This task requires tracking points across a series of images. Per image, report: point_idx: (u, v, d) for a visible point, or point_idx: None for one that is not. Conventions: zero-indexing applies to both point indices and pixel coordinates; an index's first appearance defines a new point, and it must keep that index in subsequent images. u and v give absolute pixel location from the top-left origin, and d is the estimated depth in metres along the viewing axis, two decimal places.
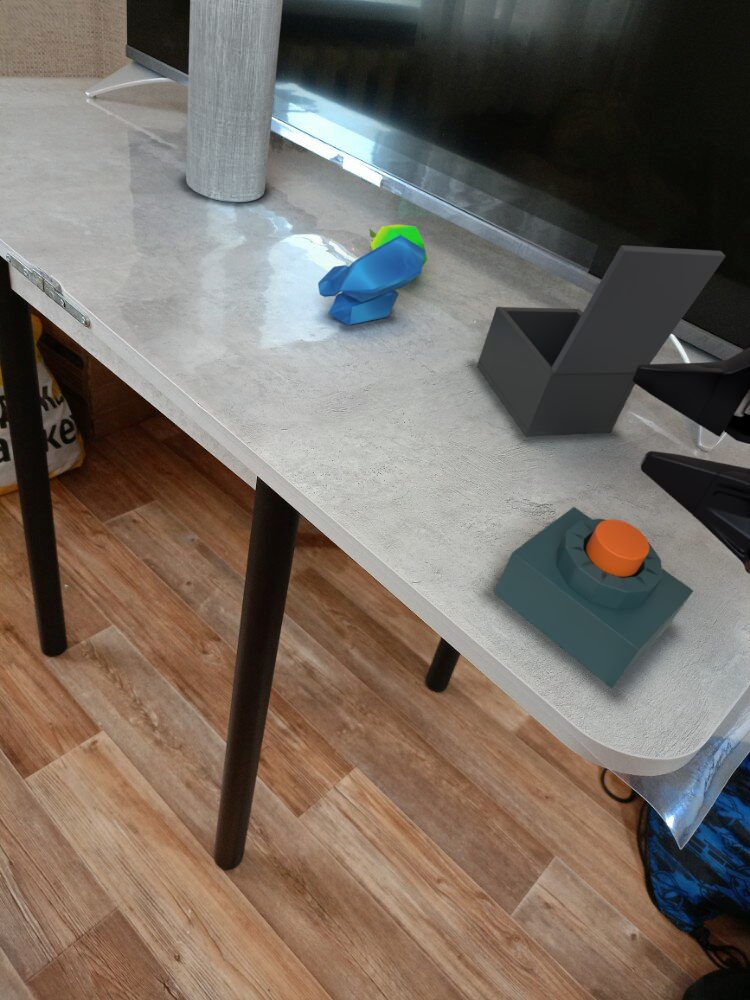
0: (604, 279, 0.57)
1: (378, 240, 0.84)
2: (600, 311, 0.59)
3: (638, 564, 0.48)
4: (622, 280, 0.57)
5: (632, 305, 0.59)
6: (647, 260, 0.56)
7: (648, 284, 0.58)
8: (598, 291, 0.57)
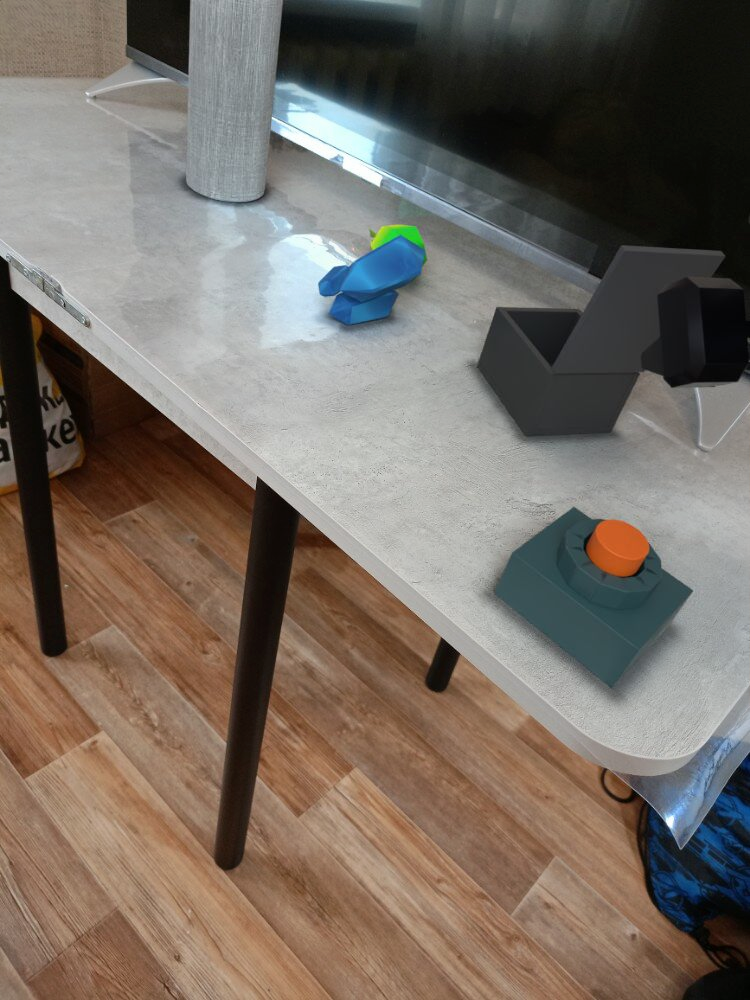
0: (604, 279, 0.57)
1: (378, 240, 0.84)
2: (600, 311, 0.59)
3: (638, 564, 0.48)
4: (622, 280, 0.57)
5: (632, 305, 0.59)
6: (647, 260, 0.56)
7: (648, 284, 0.58)
8: (598, 291, 0.57)
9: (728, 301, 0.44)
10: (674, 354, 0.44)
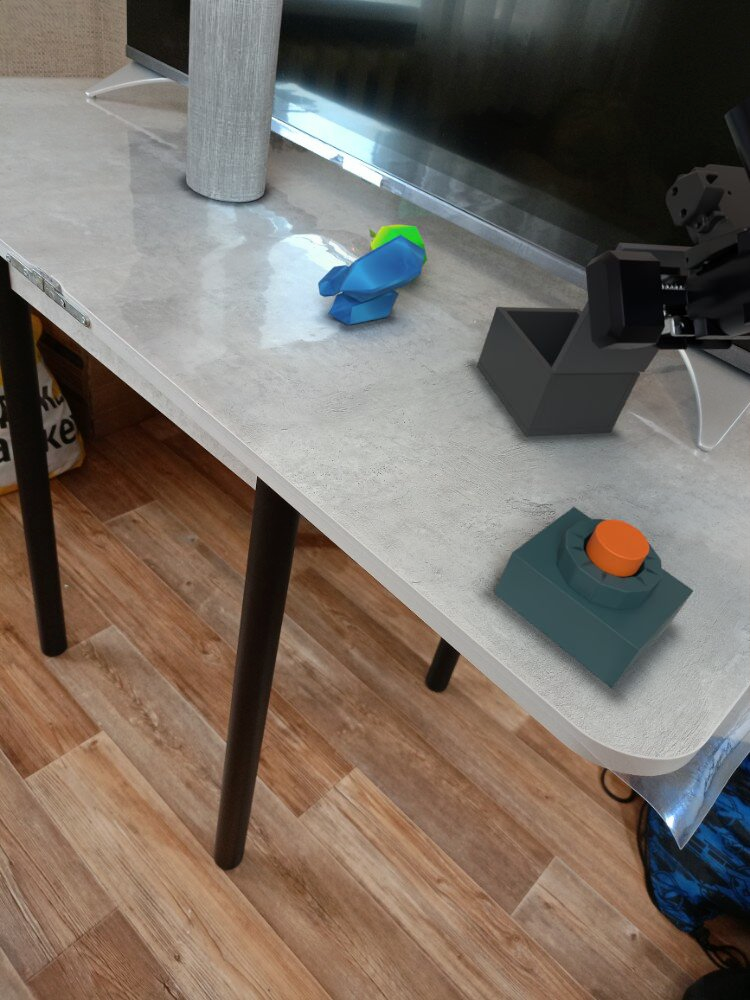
0: None
1: (378, 240, 0.84)
2: None
3: (638, 564, 0.48)
4: None
5: None
6: None
7: None
8: None
9: (646, 271, 0.50)
10: (599, 318, 0.50)
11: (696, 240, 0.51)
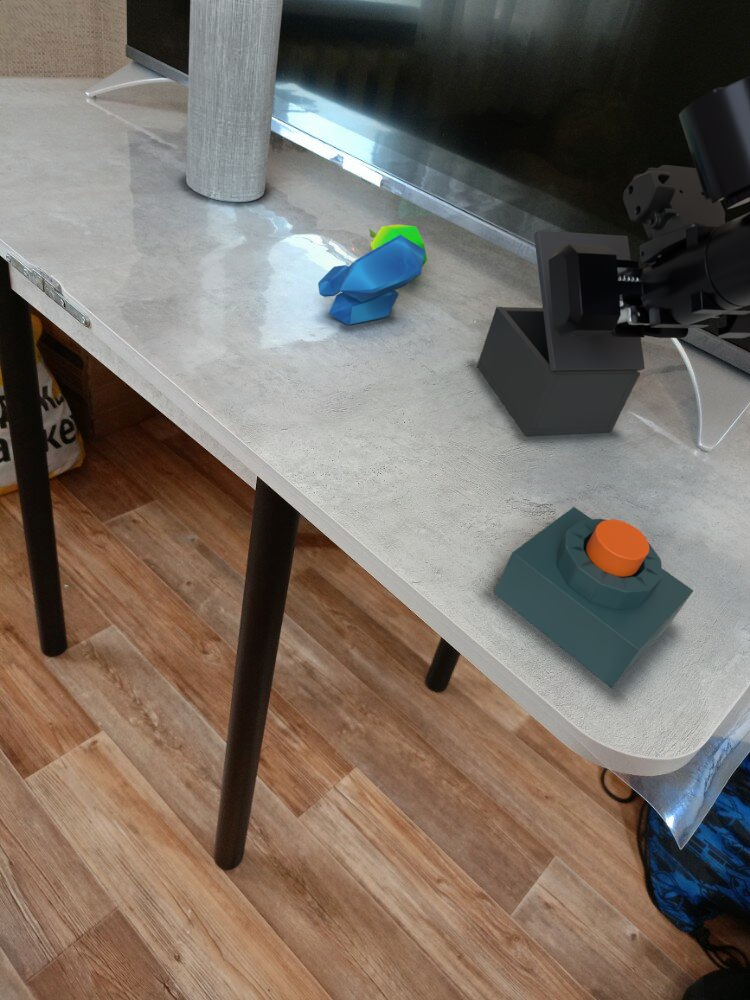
0: (539, 263, 0.65)
1: (378, 240, 0.84)
2: None
3: (638, 564, 0.48)
4: None
5: None
6: (563, 239, 0.65)
7: None
8: (541, 275, 0.64)
9: (603, 264, 0.54)
10: (560, 307, 0.54)
11: (651, 235, 0.55)
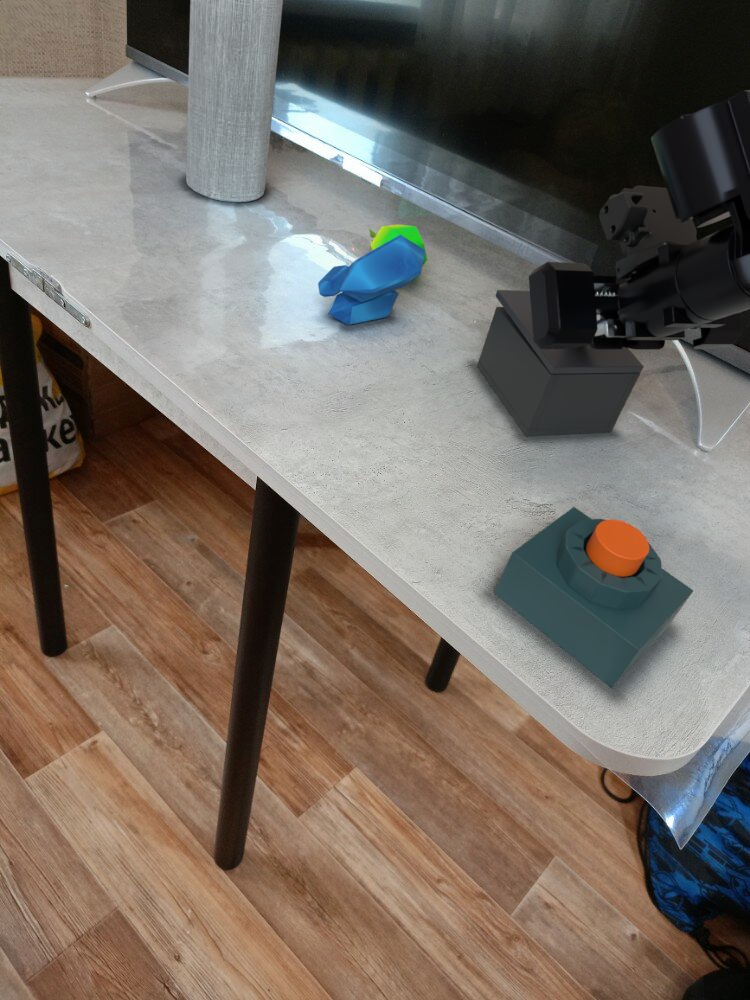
0: (507, 309, 0.70)
1: (378, 240, 0.84)
2: (530, 322, 0.68)
3: (638, 564, 0.48)
4: (520, 304, 0.70)
5: None
6: (522, 294, 0.72)
7: None
8: (512, 315, 0.69)
9: (580, 280, 0.56)
10: (540, 322, 0.57)
11: (626, 252, 0.58)
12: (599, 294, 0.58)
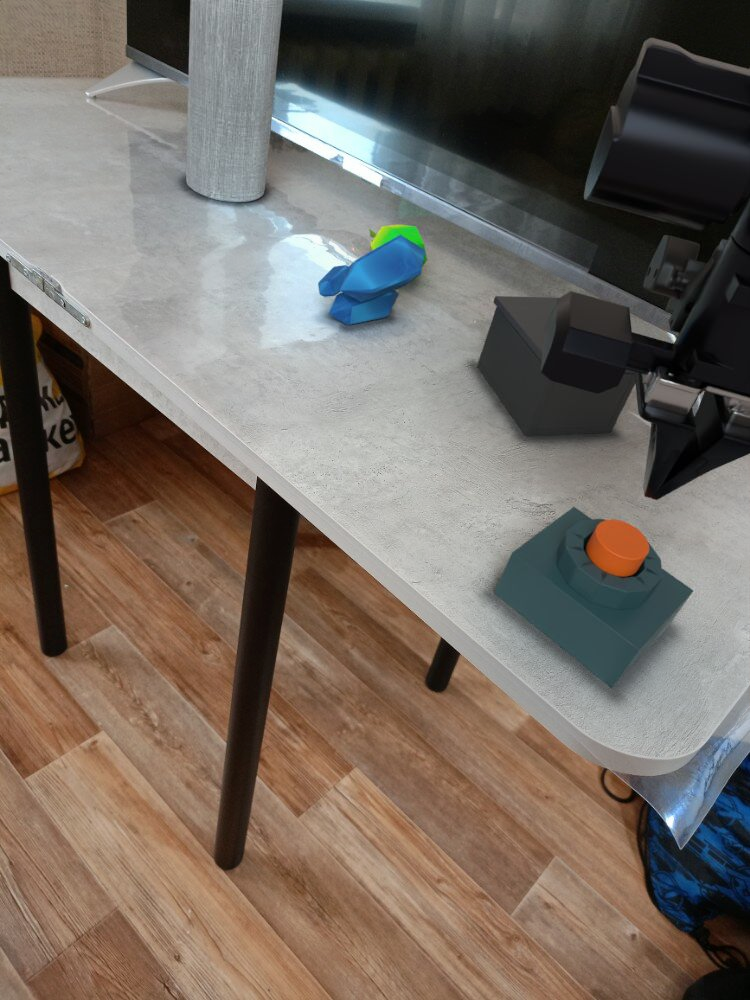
0: (506, 314, 0.70)
1: (378, 240, 0.84)
2: (529, 326, 0.68)
3: (638, 564, 0.48)
4: (518, 309, 0.71)
5: None
6: (520, 300, 0.72)
7: (543, 311, 0.71)
8: (511, 319, 0.69)
9: (607, 307, 0.41)
10: (548, 344, 0.40)
11: None
12: None
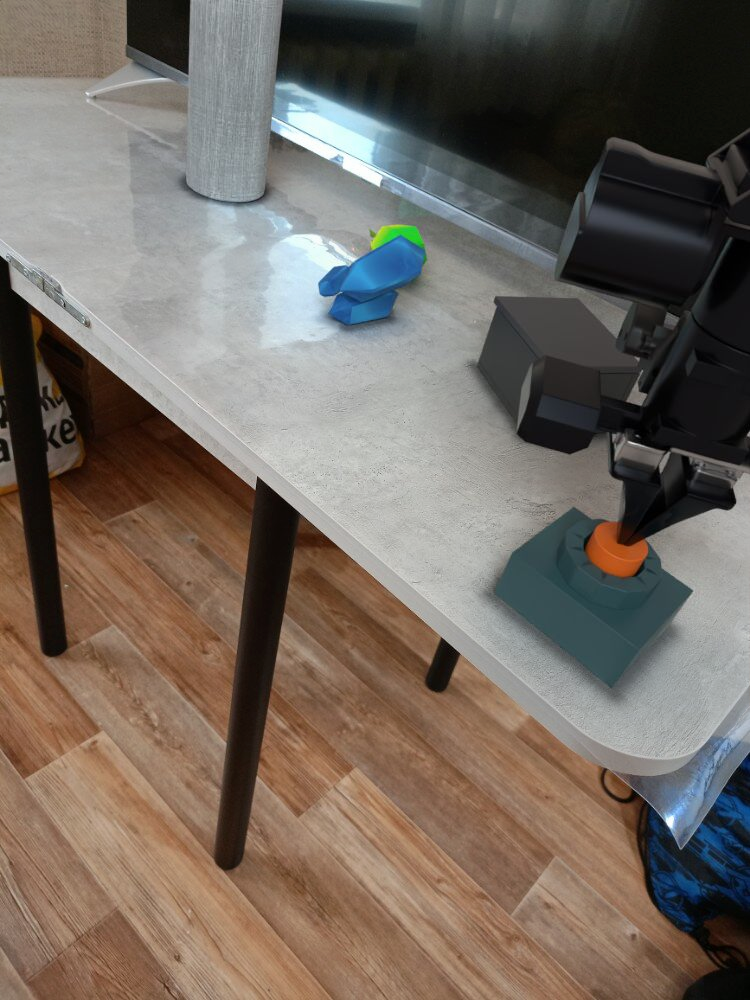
0: (506, 314, 0.70)
1: (379, 240, 0.84)
2: (529, 326, 0.68)
3: (637, 566, 0.48)
4: (518, 309, 0.71)
5: (550, 322, 0.70)
6: (520, 300, 0.72)
7: (543, 311, 0.71)
8: (511, 319, 0.69)
9: (579, 370, 0.44)
10: (523, 406, 0.43)
11: None
12: None
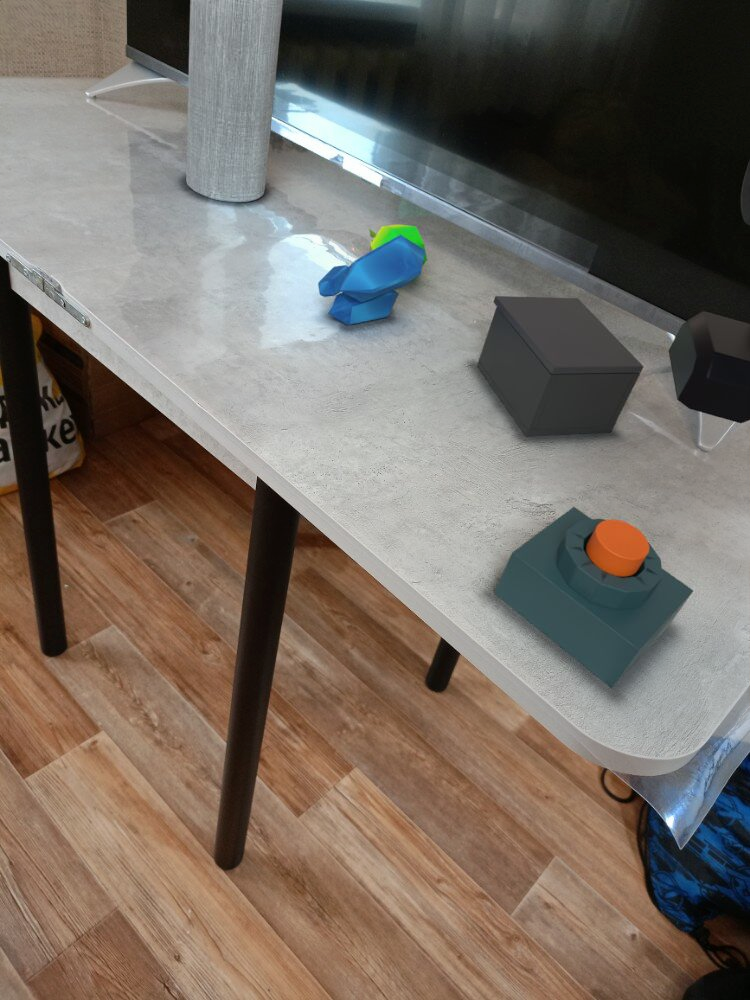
0: (506, 314, 0.70)
1: (378, 240, 0.84)
2: (529, 326, 0.68)
3: (638, 564, 0.48)
4: (518, 309, 0.71)
5: (550, 322, 0.70)
6: (520, 300, 0.72)
7: (543, 311, 0.71)
8: (511, 319, 0.69)
9: (745, 328, 0.38)
10: (684, 369, 0.37)
11: None
12: None
